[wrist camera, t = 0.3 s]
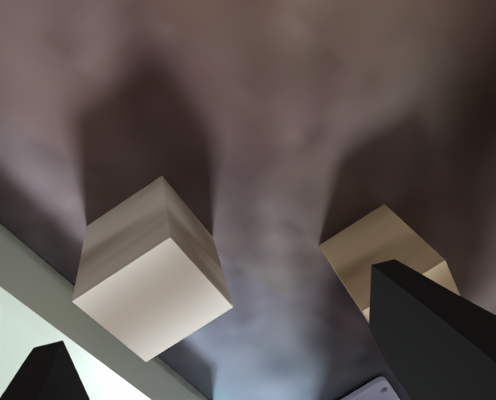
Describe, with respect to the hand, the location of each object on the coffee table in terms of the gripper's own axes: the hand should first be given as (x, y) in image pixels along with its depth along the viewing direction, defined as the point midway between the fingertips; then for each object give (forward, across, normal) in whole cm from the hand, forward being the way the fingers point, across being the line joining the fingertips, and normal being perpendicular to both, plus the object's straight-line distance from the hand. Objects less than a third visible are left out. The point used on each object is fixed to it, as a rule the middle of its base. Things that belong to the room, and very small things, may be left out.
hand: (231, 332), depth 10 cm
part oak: (+10, -8, +7) cm, 15 cm away
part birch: (+10, +2, +3) cm, 10 cm away
